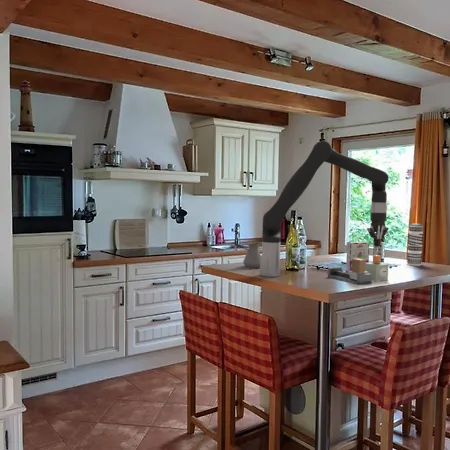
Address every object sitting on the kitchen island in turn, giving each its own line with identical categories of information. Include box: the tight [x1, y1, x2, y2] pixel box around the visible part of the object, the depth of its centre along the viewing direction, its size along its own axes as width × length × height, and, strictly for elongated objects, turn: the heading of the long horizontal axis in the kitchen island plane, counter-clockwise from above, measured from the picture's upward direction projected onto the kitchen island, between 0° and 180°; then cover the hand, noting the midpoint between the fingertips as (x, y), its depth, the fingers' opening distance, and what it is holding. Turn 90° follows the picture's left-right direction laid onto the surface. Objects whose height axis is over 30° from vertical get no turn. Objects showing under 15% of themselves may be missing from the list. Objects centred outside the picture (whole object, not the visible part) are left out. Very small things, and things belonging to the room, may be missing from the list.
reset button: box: [372, 254, 381, 264], centre depth 236 cm, size 3×3×4 cm
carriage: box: [347, 258, 368, 280], centre depth 228 cm, size 7×6×10 cm
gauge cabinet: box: [365, 261, 389, 282], centre depth 236 cm, size 8×9×8 cm
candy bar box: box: [345, 241, 370, 273], centre depth 257 cm, size 11×5×16 cm, turn 101°
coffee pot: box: [230, 241, 262, 269], centre depth 263 cm, size 21×12×15 cm, turn 127°
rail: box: [327, 266, 373, 286], centre depth 233 cm, size 8×22×5 cm, turn 29°
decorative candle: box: [406, 223, 425, 267], centre depth 287 cm, size 9×9×25 cm
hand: (377, 246), depth 235 cm, fingers closed
